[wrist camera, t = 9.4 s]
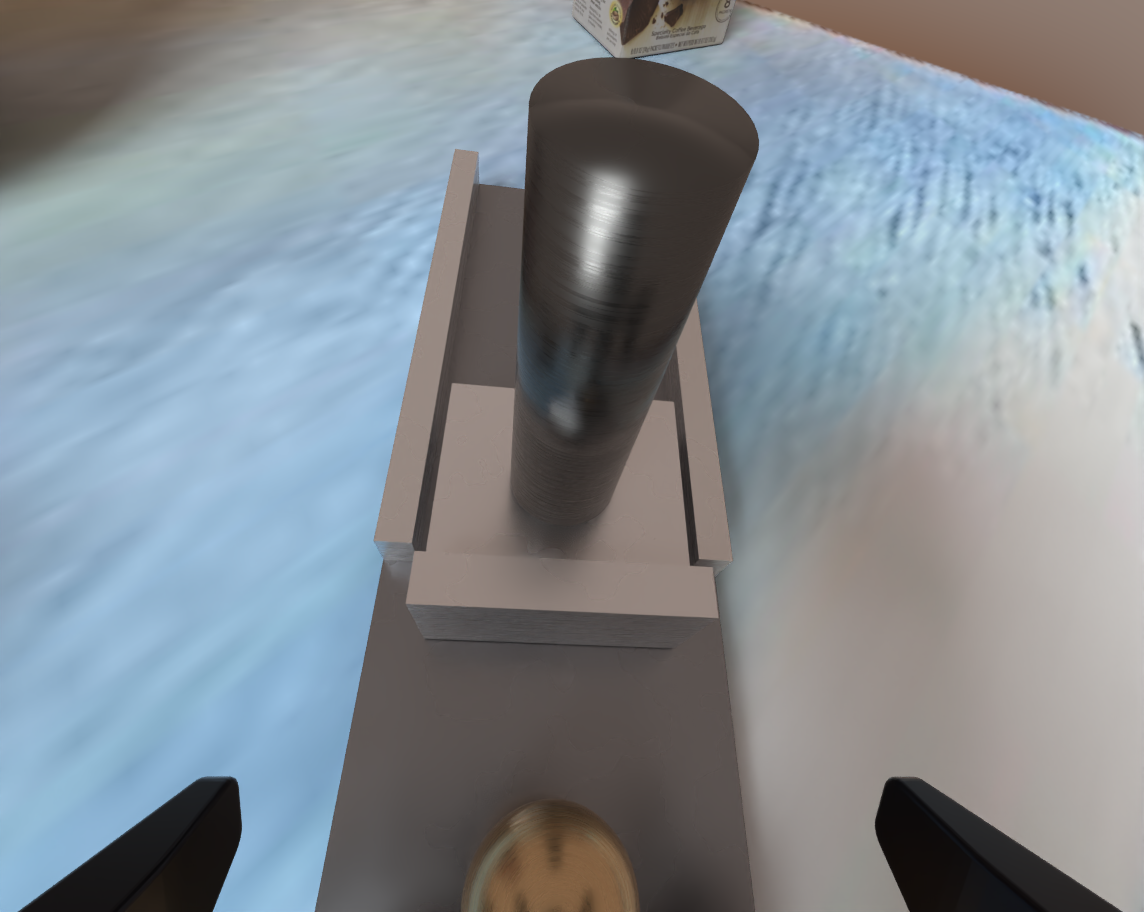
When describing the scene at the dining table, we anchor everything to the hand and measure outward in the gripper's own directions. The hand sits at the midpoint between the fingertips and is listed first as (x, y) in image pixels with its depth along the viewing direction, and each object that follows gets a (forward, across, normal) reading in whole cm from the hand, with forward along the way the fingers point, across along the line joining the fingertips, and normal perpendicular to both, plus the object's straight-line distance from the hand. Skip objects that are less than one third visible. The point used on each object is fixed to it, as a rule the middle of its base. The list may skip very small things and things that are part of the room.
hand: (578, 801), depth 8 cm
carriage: (+10, 0, 0) cm, 10 cm away
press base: (+12, 0, 0) cm, 12 cm away
